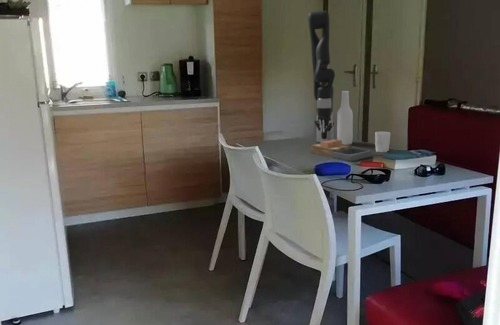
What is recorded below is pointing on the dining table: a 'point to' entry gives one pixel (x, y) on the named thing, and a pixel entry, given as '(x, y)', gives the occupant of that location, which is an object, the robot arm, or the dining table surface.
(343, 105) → the alcohol
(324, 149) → the oak plate
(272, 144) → the dining table surface
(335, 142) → the tile
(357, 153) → the box
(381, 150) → the white cup
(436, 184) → the dining table surface
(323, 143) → the tile
